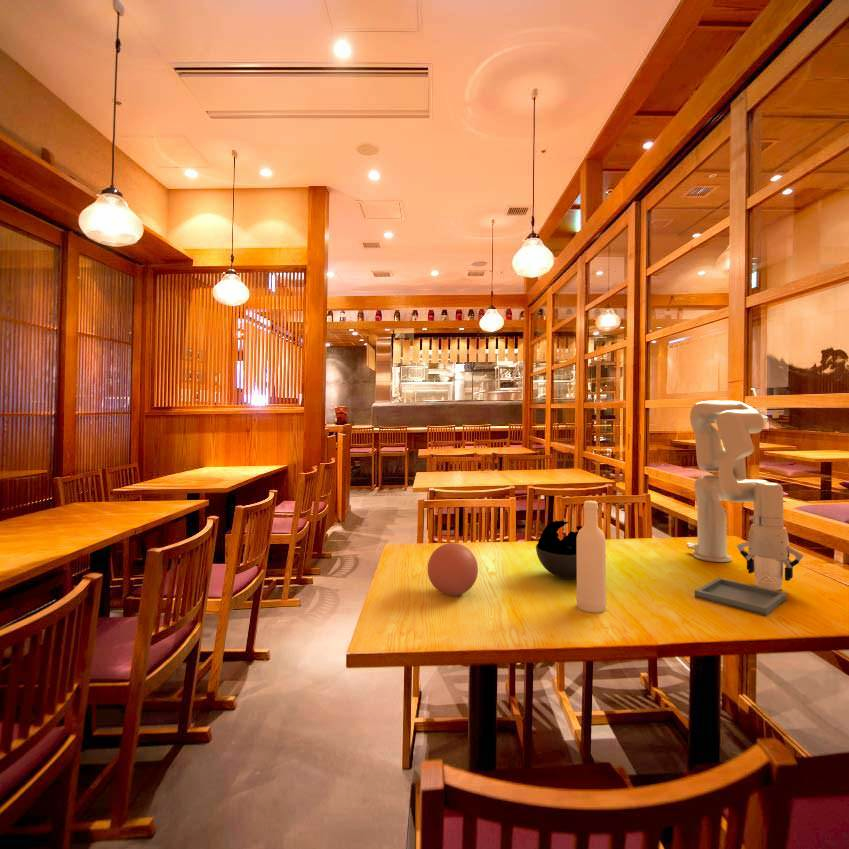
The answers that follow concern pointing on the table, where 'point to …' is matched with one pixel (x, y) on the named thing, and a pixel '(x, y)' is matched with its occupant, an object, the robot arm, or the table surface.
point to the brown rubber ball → (452, 569)
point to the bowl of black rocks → (558, 551)
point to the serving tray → (741, 596)
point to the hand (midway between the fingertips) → (769, 576)
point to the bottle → (591, 562)
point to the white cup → (768, 573)
